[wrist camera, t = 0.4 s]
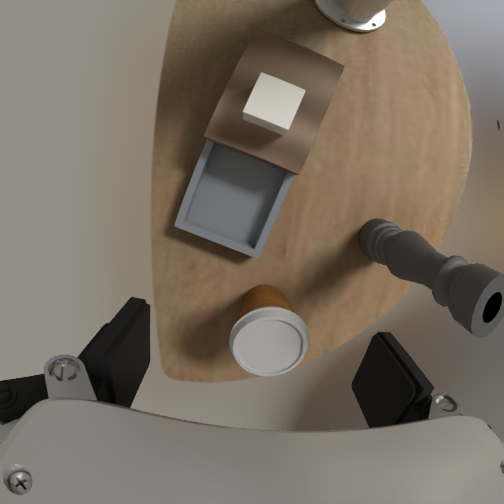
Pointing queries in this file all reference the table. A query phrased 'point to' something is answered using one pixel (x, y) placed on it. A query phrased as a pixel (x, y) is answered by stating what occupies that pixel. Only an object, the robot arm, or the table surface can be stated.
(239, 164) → the box
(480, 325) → the candle holder
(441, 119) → the table surface
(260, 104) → the white block
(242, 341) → the disposable coffee cup
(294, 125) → the brown wooden box
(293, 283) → the table surface
